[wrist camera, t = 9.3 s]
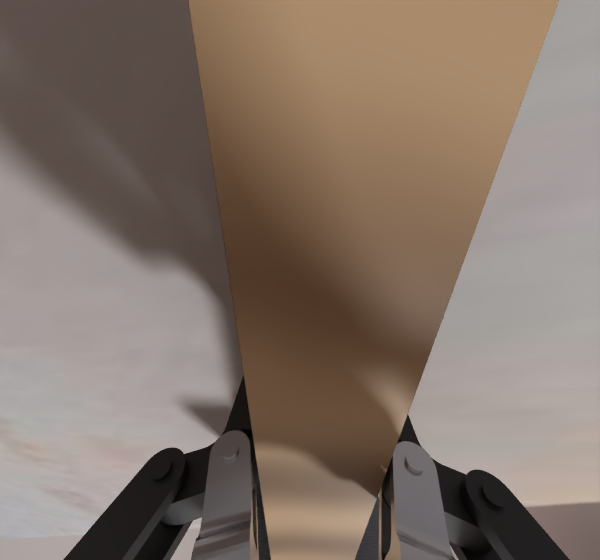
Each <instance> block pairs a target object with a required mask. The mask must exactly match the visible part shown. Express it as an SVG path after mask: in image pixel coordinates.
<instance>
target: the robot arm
mask: <svg viewBox="0 0 600 560" xmlns="http://www.w3.org/2000/svg"><path fill="white" fill-rule="evenodd" d="M257 476H258V467H257V461H256V454H255V447H254V440H253V434H252V427H251V420H250V413H249V407H248V400H247V393H246V386H245V380H244V375H243V378H242V381H241V385H240V387H239V390H238V394H237V396H236V399H235V402H234V405H233V408H232V411H231V414H230V417H229V420H228V423H227V426H226V428H225V431H224V432H223V434H222V435H221V436H220V437H219V438H218V439H217V440H216V442H214V443H213V444H212V445H210V446H208V447H206V448H203V449H200V450H196V451H193V452H190V453H186V454H183V452H182V451H181V450H180V449H178V448H167V449H164V450H162V451H160V452H158V453H157V454H155V455H154V456H153V457H152V458H150V460H149V461H148V462H147V463H146V464H145V465H144V466H143V467H142V469H141V470H140V471H139V472H138V473H137V474H136V476H135V477H134V478H133V479H132V480H131V481H130V483H129V484H128V485H127V486H126V487H125V488H124V490H123V491H122V492H121V493H120V494H119V495H118V497H117V498H116V499H115V500H114V501H113V502H112V504H111V505H110V506H109V507H108V508H107V509H106V511H105V512H104V513H103V514H102V515H101V516H100V518H99V519H98V520H97V521H96V522H95V523H94V525H93V526H92V527H91V528H90V529H89V530H88V532H87V533H86V534H85V535H84V536H83V537H82V539H81V540H80V541H79V542H78V543H77V544H76V546H75V547H74V548H73V549H72V550H71V552H70V553H69V554H68V555H67V556H66V557H65V558H64V560H170V559H171V557H172V555H173V554H174V552H175V550H176V549H177V547H178V545H179V544H180V542H181V540H182V538H183V537H184V535H185V533H186V532H187V530H188V528H189V526H190V525H191V523H192V521H193V520H195V519H198V518H201V517H202V522H201V528H200V533H199V536H198V538H197V539H196V541H195V544H194V548H193V552H192V557H191V560H259V551H258V523H257V492H256V481H257ZM450 545H451V547H452V549H453V550H454V552H455V554H456V555H457V557H458V559H459V560H569V559H568V557H567V556H566V555H565V554H564V553H563V552H562V550H561V549H560V548H559V547H558V546H557V545H556V543H555V542H554V541H553V540H552V539H551V538H550V537H549V535H548V534H547V533H546V532H545V531H544V529H543V528H542V527H541V526H540V525H539V524H538V523H537V521H536V520H535V519H534V518H533V517H532V516H531V514H530V513H529V512H528V511H527V510H526V509H525V507H524V506H523V505H522V504H521V503H520V502H519V500H518V499H517V498H516V497H515V496H514V495H513V493H512V492H511V491H510V490H509V489H508V488H507V487H506V486H505V485H504V484H503V483H502V482H501V481H500V480H499V479H497V478H496V477H495V476H493V475H491V474H490V473H487V472H485V471H482V470H472V471H470V472H469V473H468V474H467V475H466V474H463V473H461V472H458V471H456V470H454V469H451V468H449V467H446V466H444V465H442V464H440V463H438V462H437V461H435V460H434V459H432V458H431V457H430V455H429V454H428V453H427V452H426V451H425V450H424V449H423V448H422V447H421V445H420V443H419V442H418V439H417V437H416V434H415V432H414V429H413V426H412V424H411V421H410V418H409V416H408V415H407V417H406V420H405V423H404V426H403V428H402V431H401V434H400V437H399V439H398V442H397V445H396V447H395V450H394V453H393V456H392V458H391V461H390V464H389V467H388V469H387V472H386V475H385V478H384V480H383V483H382V486H381V489H380V491H379V558H378V560H455V559H454V557H453V555H452V552H451V549H450Z"/></svg>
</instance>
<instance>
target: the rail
mask: <svg viewBox="0 0 600 560" xmlns="http://www.w3.org/2000/svg"><path fill="white" fill-rule="evenodd" d="M188 2H189V9H190V15H191V22H192V29H193V36H194V42H195V49H196V56H197V63H198V69H199V76H200V83H201V90H202V96H203V103H204V110H205V117H206V123H207V130H208V137H209V144H210V150H211V157H212V164H213V171H214V177H215V184H216V191H217V198H218V204H219V211H220V218H221V225H222V231H223V238H224V245H225V251H226V258H227V265H228V272H229V278H230V285H231V292H232V299H233V305H234V312H235V319H236V326H237V332H238V339H239V346H240V353H241V359H242V366H243V373H244V380H245V386H246V393H247V400H248V407H249V413H250V420H251V427H252V434H253V440H254V447H255V454H256V461H257V467H258V474H259V481H260V488H261V494H262V501H263V508H264V515H265V521H266V528H267V535H268V542H269V548H270V555H271V560H355V557H356V554H357V551H358V549H359V546H360V543H361V540H362V538H363V535H364V532H365V530H366V527H367V524H368V521H369V519H370V516H371V513H372V510H373V508H374V505H375V502H376V499H377V497H378V494H379V491H380V489H381V486H382V483H383V480H384V478H385V475H386V472H387V469H388V467H389V464H390V461H391V458H392V456H393V453H394V450H395V447H396V445H397V442H398V439H399V437H400V434H401V431H402V428H403V426H404V423H405V420H406V417H407V415H408V412H409V409H410V406H411V404H412V401H413V398H414V396H415V393H416V390H417V387H418V385H419V382H420V379H421V376H422V374H423V371H424V368H425V365H426V363H427V360H428V357H429V355H430V352H431V349H432V346H433V344H434V341H435V338H436V335H437V333H438V330H439V327H440V324H441V322H442V319H443V316H444V313H445V311H446V308H447V305H448V303H449V300H450V297H451V294H452V292H453V289H454V286H455V283H456V281H457V278H458V275H459V272H460V270H461V267H462V264H463V262H464V259H465V256H466V253H467V251H468V248H469V245H470V242H471V240H472V237H473V234H474V231H475V229H476V226H477V223H478V220H479V218H480V215H481V212H482V210H483V207H484V204H485V201H486V199H487V196H488V193H489V190H490V188H491V185H492V182H493V179H494V177H495V174H496V171H497V169H498V166H499V163H500V160H501V158H502V155H503V152H504V149H505V147H506V144H507V141H508V138H509V136H510V133H511V130H512V128H513V125H514V122H515V119H516V117H517V114H518V111H519V108H520V106H521V103H522V100H523V97H524V95H525V92H526V89H527V86H528V84H529V81H530V78H531V76H532V73H533V70H534V67H535V65H536V62H537V59H538V56H539V54H540V51H541V48H542V45H543V43H544V40H545V37H546V35H547V32H548V29H549V26H550V24H551V21H552V18H553V15H554V13H555V10H556V7H557V4H558V2H559V0H188Z"/></svg>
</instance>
